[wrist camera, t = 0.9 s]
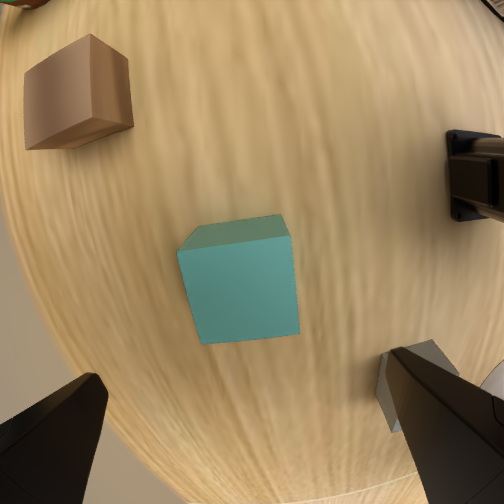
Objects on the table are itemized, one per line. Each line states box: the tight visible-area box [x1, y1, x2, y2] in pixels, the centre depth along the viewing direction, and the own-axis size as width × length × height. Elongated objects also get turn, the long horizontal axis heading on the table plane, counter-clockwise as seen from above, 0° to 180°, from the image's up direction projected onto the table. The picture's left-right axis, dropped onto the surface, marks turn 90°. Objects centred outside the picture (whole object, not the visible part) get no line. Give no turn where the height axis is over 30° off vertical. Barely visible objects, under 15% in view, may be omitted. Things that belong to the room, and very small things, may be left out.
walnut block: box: [24, 34, 134, 150], centre depth 12 cm, size 5×5×5 cm
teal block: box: [176, 214, 300, 344], centre depth 15 cm, size 5×5×5 cm
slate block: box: [375, 339, 459, 433], centre depth 18 cm, size 5×5×5 cm
